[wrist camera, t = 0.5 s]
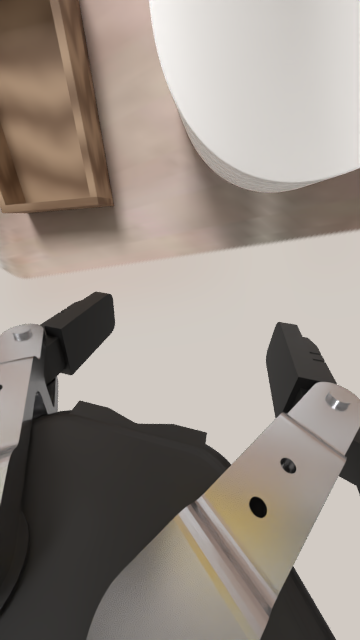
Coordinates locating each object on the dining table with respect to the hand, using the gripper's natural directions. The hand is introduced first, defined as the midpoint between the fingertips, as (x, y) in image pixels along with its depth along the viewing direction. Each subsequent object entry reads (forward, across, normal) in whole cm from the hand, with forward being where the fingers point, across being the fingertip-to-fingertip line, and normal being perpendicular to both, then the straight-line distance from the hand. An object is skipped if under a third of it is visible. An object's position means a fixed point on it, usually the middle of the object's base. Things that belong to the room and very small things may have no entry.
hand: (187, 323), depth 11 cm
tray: (+28, +28, -14) cm, 41 cm away
